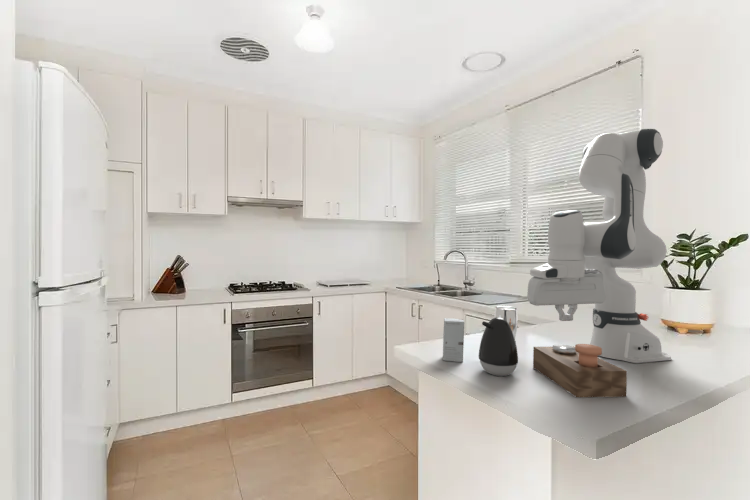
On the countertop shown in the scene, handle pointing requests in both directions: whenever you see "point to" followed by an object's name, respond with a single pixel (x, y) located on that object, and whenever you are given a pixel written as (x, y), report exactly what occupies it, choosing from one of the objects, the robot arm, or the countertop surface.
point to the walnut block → (580, 374)
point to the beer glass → (508, 316)
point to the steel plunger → (564, 349)
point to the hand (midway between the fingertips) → (566, 320)
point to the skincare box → (453, 339)
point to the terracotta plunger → (588, 354)
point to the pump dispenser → (498, 348)
